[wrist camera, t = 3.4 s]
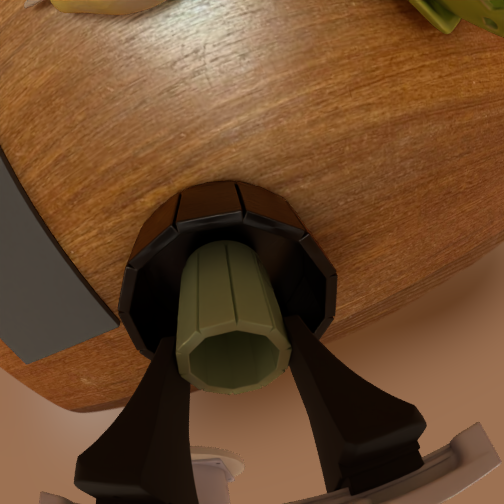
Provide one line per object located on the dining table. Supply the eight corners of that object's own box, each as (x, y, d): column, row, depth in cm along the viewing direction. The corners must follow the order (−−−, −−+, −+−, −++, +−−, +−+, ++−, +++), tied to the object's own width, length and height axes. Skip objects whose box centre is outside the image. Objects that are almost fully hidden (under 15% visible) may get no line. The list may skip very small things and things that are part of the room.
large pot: (311, 315, 21) (331, 362, 17) (165, 340, 20) (160, 392, 16) (305, 167, 16) (339, 194, 12) (113, 202, 15) (86, 241, 11)
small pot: (272, 295, 17) (299, 378, 12) (197, 316, 17) (199, 402, 12) (255, 229, 15) (282, 307, 10) (169, 253, 15) (155, 339, 10)
